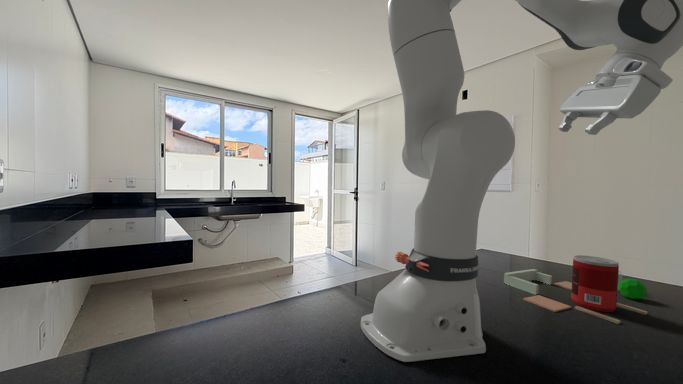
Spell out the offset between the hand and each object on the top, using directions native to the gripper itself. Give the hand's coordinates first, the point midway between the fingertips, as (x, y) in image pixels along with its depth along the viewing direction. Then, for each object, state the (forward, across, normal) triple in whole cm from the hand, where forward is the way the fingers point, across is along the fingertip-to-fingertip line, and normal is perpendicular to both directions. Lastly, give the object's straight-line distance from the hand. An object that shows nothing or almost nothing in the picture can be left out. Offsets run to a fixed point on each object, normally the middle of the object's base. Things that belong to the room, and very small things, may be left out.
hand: (574, 131), depth 65 cm
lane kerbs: (+30, +10, +26) cm, 41 cm away
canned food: (+31, +10, +26) cm, 41 cm away
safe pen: (+36, -1, +21) cm, 42 cm away
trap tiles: (+33, +4, +23) cm, 41 cm away
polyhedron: (+25, +3, +39) cm, 46 cm away
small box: (+26, -5, +41) cm, 49 cm away
